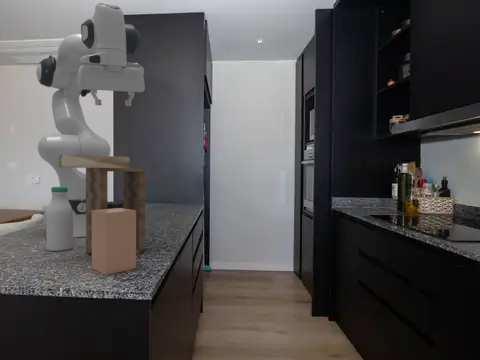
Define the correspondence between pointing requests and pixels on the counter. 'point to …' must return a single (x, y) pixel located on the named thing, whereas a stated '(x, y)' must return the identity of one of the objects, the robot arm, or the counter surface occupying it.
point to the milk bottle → (59, 221)
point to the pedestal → (113, 240)
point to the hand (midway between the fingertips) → (113, 105)
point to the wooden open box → (131, 199)
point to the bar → (93, 161)
